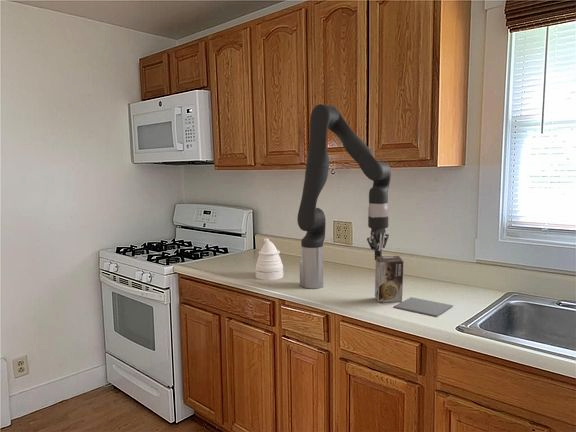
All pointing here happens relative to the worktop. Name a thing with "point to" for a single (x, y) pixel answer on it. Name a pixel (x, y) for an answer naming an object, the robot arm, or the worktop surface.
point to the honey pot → (269, 262)
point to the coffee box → (389, 279)
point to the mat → (423, 306)
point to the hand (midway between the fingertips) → (378, 260)
